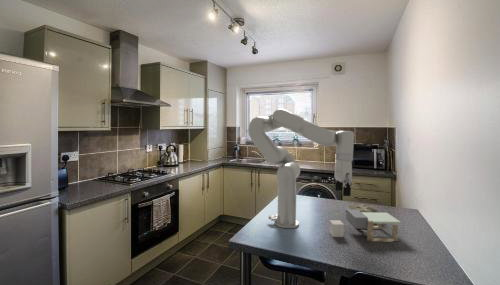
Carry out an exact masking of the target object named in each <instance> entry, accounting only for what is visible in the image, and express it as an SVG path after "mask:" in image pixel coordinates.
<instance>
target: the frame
mask: <svg viewBox="0 0 500 285" xmlns="http://www.w3.org/2000/svg"><path fill="white" fill-rule="evenodd" d="M359 211H360V210H359ZM398 228H399V227H398V225H397V224H393V225H392V233H391V234H392V237H387V238H386V237H374V230H381V229H383V228H382V224H376V225H374V223H373V221H368V226H367V228H355V229H366V231H367V232H366V240H367V242H385V243H386V242H387V243H388V242H393V241H399V240H398V232H399V231H398Z"/></svg>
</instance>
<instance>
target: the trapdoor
mask: <svg viewBox="0 0 500 285" xmlns="http://www.w3.org/2000/svg"><path fill="white" fill-rule="evenodd" d="M345 218H346V221H347V222H348V223H349V224H350V225H351V226H352V227H353V228H354V229H356V228H367V226H368V221H373V224H376V225H377V224H381V225H383V224H385V225H387V224H389V225H392V224H393V225H401V224H402V221H400V220H398V218H395V217H394V216H393V215H391V214H390V213H388V212H380V213H373V212H360V211H359V210H352V209H347V208H346V210H345Z"/></svg>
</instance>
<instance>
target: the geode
mask: <svg viewBox="0 0 500 285" xmlns="http://www.w3.org/2000/svg"><path fill="white" fill-rule="evenodd" d="M346 209H352V210H360V212H373V213H381V212H379V209H378V208H377V207H374V206H372V205H370V206H367V204H366V203H365V204H357V205H350V206H347V207H346Z"/></svg>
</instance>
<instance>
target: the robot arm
mask: <svg viewBox="0 0 500 285" xmlns="http://www.w3.org/2000/svg"><path fill="white" fill-rule="evenodd" d="M280 128H283V129H286V130H288V131H290V132H293V133H295V134H297V135H299V136H301V137H303V138H306V139H307V140H310V141H311V142H313V143H316V144H317V145H320V146H322V147H331V146H334V145H335V147H336V148H335V165H334V179H335V191H343V192H342V195H343V197H350V196H351V192H352V185H353V184H352V182H353V160H354V142H355V133H354V131H351V130H332V129H327V128H324V127H321V126H320V125H317V124H314V123H313V122H312V121H309V119H307V118H305V117H303V116H301V115H298V114H296V113H294V112H291V111H289V110H288V109H285V108H278V109H276V110H274V111H273V113H272V114H271V115H270V114H269V115H267V116H256V117H254V118H252V119H251V121H250V122H249V125H248V130H247V132H248V136H249V138H250V140H251V142H252V143H253V144H254V146H255V147H256V148H257V149H258V151H259V152H260V153H261V155H262V156H263V157H264V158H265V160H266V162H268V163H269V165H272V166H278V167H279V168H278V169H277V172H276V179H277V180H276V181H277V213H276V214H274V215H268V220H270V221H271V222H273V221H274V225H275V226H276V227H279V228H282V229H294V228H297V227H299V225H300V223H299V220H297V180H296V179H297V178H298V177H299V176H300V174H301V167H300V165H299V164H298V162H297V160H295V159H294V157H293V156H292V155H291V154H290V153H289V152H288V150H287V149H286V148H284V147H283V146H277V145H276V144H275V143H274V141H273V140H272V139H271V137H270V136H268V134H267V133H268V132H272V131H275V130H278V129H280Z"/></svg>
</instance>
